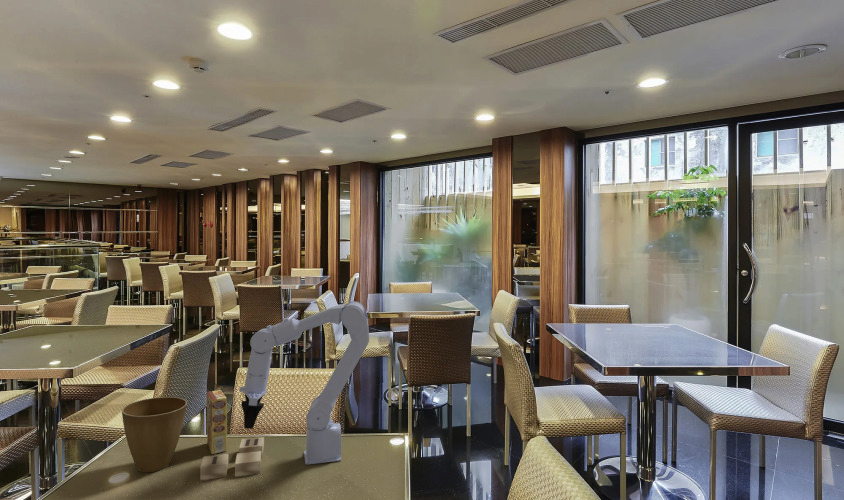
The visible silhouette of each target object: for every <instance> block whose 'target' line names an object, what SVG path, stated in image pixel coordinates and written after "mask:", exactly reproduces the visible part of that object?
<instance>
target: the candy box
mask: <svg viewBox="0 0 844 500" xmlns="http://www.w3.org/2000/svg"><path fill="white" fill-rule="evenodd" d="M227 399H228V398H227V396H226V395H225V393H224V392H223V391H222V390H221V389H218V390H212V391H211V390H210V391H207V393H206V403H207V404H206V425H207V426H206V428H207V431H206V432H207V433H206V434H207V435H206V438H207V440H206V441H207V442H206V444H207V446H208V449H209V451H210V453H211V455H216V454H219V453H224V452H227V449H228V448H227V447H228V443H227V442H228V441H227V439H228V438H227V434H228V429H227V428H228V427H227V424H228V413H227V412H228V401H227Z"/></svg>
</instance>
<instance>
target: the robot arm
mask: <svg viewBox="0 0 844 500" xmlns="http://www.w3.org/2000/svg"><path fill="white" fill-rule="evenodd" d="M368 321H369V318H368V314H367V311H366V309H365V307H364V305H363V304H362V303H360V302H359V301H354V300H353V301H349V302H348V303H346V304H345V303H340V304H339V305H334V306H331V307H329V308H326V309H323V310H321V311H320V312H319V311H318V312H316V313H315V314H312V315H309V316H307V317H305V318H303V319H300V320H299V319H297V318H294V317H292V318H289V317H286V318H284V319H283V320H282V322H279V323H276V324H273V325H271V324H269V325H267V326H266V328H261V329H260V330H258V331H257V332H255V333H254V334H252V337H251V338H250V342H249V343H250V347H251V351H250V355H249V359H248V366H247V369H246V377H245V381H244V386H240V387H239V390H238V391H239V392H242V393H243V394H244V397H245V400H242V401H241V408H242V411H243V425H244V427H243V428H244V429H247V430H249V429H251V430H252V429H254V427H255V424H256V421H257V419H258V416H259V414H260V413H261V411H262V409H263V408H264V406H265V403H264V402H261V401H262V399H263V397H264V396H265V395H266V394H267V390H268V389H267V387H268V380H269V375H270V370H271V363H272V359H273V358H272V355H273V347H278V346H282V345H285V344H286V343H289V342H292V341H295V340H297V339H300V338H301V336H302V334H303V332H305V331H308V330H311V329H314V328H317V327H320V326H322V325H323V326H324V325H326V324H329V323H331V324H335V325H340V324H341V323H342V325H343V326H344V327H345V329H346V330H347V332H348V335H349V336H350V342H349V343H348V346H347V347H346V349H345V350H344V352H343V354H342V356H341V358H340V360H339V362H338V363H337V364H336V367H335V368H334V370H333V372H332V373H331V375H330V376H329V377H330V378H329V379H328V381H327V383H326V384H325V386H324V388H323V389H322V390H321V392H320V394H319V395H318V396H317V397H315V398H314V399H312V401H311V403H310V407H309V410H308V412H307V414H306V417H305V421H306V434H305V435H306V437H305V438H306V441H305V442H306V443H305V444H306V447H305V448H306V449H305V450H304V451H303V457H304V462H305V463H304V464H305V465H316V464H324V463H331V462H332V463H333V462H340V461H342V428H341V424H340V423H339V422H336V423H335V422H334V420H332V418H331V415H332V412H333V410H334V408H335V405H336V403H337V400H338V399H339V396H340V395H341V393H342V392H343V389H344V387H345V386H346V384H347V382H348V381H349V378H350V377H351V375H352V373H353V371H354V370H355V368H356V366H357V365H358V362H359V361H360V359H361V358H362V355H363V354H364V352H365V351H366V348H367V346H368V345H369V343H370V331H369V330H370V329H369V322H368Z"/></svg>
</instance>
